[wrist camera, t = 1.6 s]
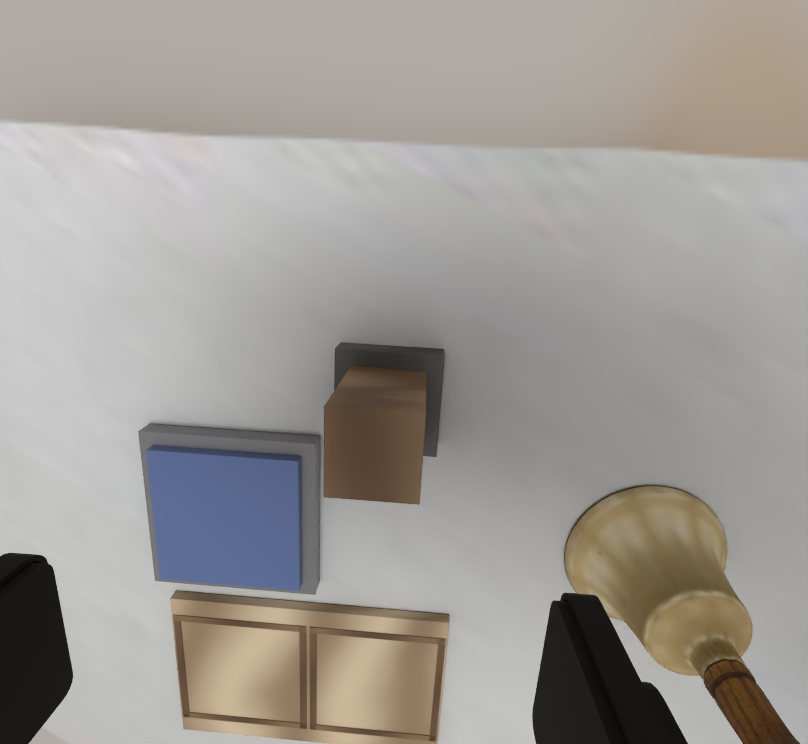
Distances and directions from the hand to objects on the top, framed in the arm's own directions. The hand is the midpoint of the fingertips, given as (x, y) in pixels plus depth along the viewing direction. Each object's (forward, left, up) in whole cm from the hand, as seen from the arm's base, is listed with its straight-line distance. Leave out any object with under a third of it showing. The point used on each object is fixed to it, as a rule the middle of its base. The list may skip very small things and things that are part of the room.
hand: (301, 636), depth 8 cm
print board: (+4, +18, -15) cm, 24 cm away
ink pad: (+8, +7, -15) cm, 18 cm away
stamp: (0, 0, -15) cm, 15 cm away
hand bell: (-14, +8, -15) cm, 22 cm away
